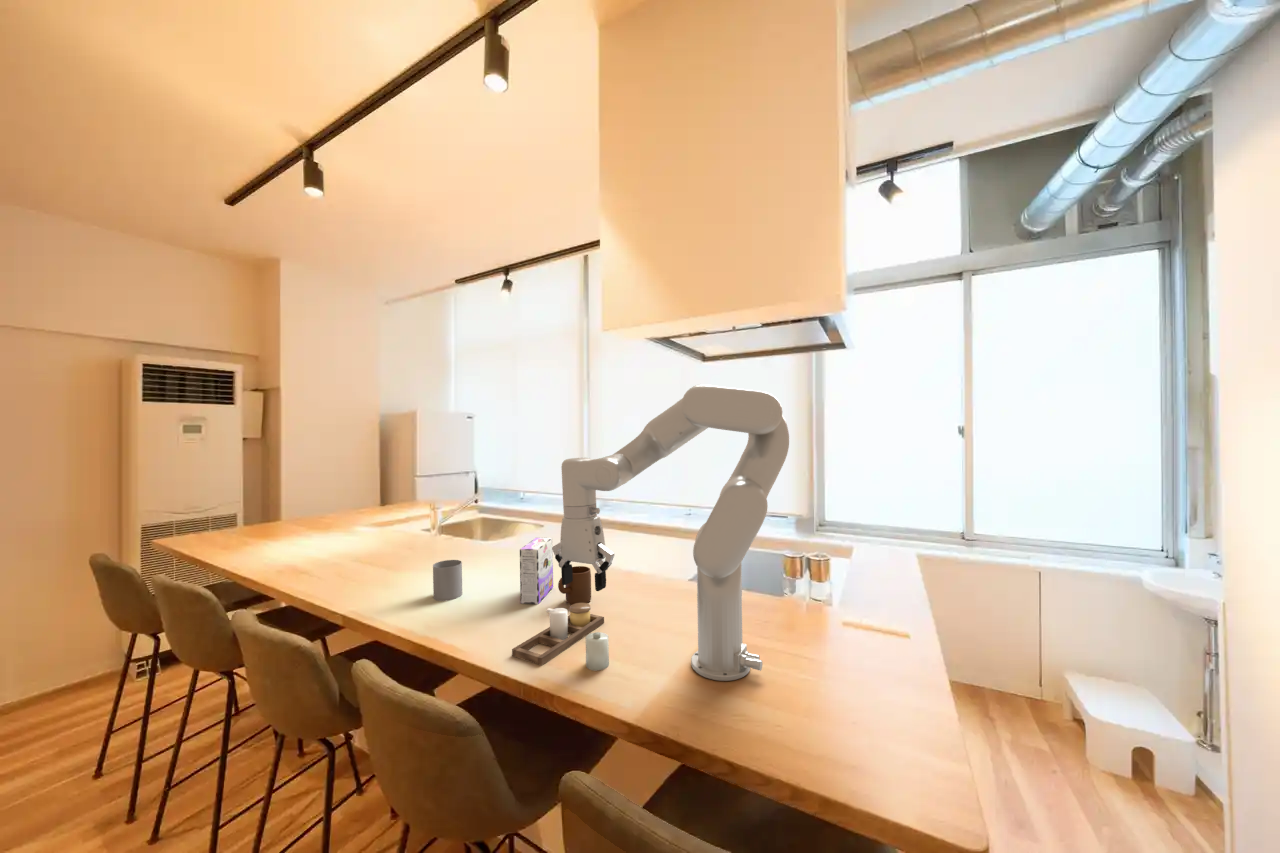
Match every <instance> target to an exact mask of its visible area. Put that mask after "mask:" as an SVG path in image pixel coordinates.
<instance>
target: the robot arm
mask: <svg viewBox="0 0 1280 853" xmlns="http://www.w3.org/2000/svg"><path fill="white" fill-rule="evenodd" d="M709 428H710V429H715V430H723V431H730V432H736V433H737V432H738V433H745V434H748V436H747V437H748V440H747V444H746V446H745V448H744V451H743V452H742V454H741V456H740V458H739V461H738V462H737V464H736V466H735V468H734V470H733V471H732V473H731V474H730V477H729V479H727V482H726V483H725V484H724V486H723V487H722V489H721V491H720V493H719V496H718V499H717V500H716V503H715V505H714V506H713V509H712V510H711V512H710V514H709V516H708V518H707V519H706V522H704V523H703V524H702V526H701V527H700V528H699V530H698V531H697V533H696V534H697V535H696V537H695V540H694V544H693V546H692V548H693V549H692V555H693V556H692V557H693V560H694V564H695V565H696V566H697V567H696V570H697V572H696V573H697V574H696V580H697V582H696V584H697V585H696V587H697V588H696V591H697V594H696V596H697V597H696V600H697V604H696V605H697V606H696V607H697V650H696V651H695V652H694V653H693V654H692V656H691V657H690V663H691V664H690V665H691V667H692V669H693V670H694V672H696V674H698V675H700V676H701V677H704V678H706V679H709V680H714V681H721V682H724V681H725V682H729V681H735V680H739V679H742V678H744V677H745V676H747V675H748V674H749V672H750V670H751V669H752V670H757V671H760V672H761V671H762V669H763V660H761V659H760V655H759V654H756V653H751V652H749V651H748V646H747V644H746V643H743V598H742V597H743V576H742V570H743V569H742V566H743V565H742V562H743V560H744V558H745V556H746V555H747V553H748V551H749V550H750V548H751V546H752V544H753V542H754V540H755V538H756V537H757V535H758V533H759V532H760V529H761V527H762V525H763V524H764V522H765V519H766V517H767V513H768V508H769V507H768V499H767V498H768V496H769V494H770V492H771V490H772V488H773V486H774V484H775V483H776V480H777V478H778V477H779V474H780V472H781V470H782V468H783V466H784V464H785V461H786V459H787V456H788V453H789V448H790V434H789V428H788V424H787V422H786V418H785V417H784V415H783V406H782V405H781V402H780V401H779V399H778V397H776V396H774V395H773V394H772V393H770V392H767V391H762V390H753V389H744V388H736V387H728V386H727V387H726V386H719V385H712V384H701V383H700V384H696V385H693V386H691V387H690V388H689V389H688V390H687V391H686V392H685V393H684V395H683V397H682V398H680V399H679V400H678V401H676V402H675V403H674V404H673V405H671V406H670V407H668V408H667V409H666V410H664V411H663V412H661V413H660V414H658V415H657V416H656V417H654V418H653V419H651V420H650V421H649V422H648V423H646V424H645V426H644V428H643V429H642V431H641V432H640V433H639V434H638V435H637V436H636V437H635V438H634V439H632V440H631V441H630V442H628V443H627V444H625V445H624V446H622V447H621V448H620V449H619V450H617V451H615V452H614V453H613V454H611V455H607V456H605V457H604V456H603V457H600V458H594V459H592V458H590V457H589V458H588V457H572V458H567V459H565V460H563V462H562V463H561V484H562V485H561V488H562V506H563V508H562V509H563V517H562V520H561V525H560V526H561V527H560V542H558V543H557V544H555V545H554V546H553V545H552V553H553V554H554V556H555V557H554V558H555V559H554V560H556V562H557V563H558V567H559V568H560V569H561V570H560V571H561V578H562V585H564V586H565V585H566V584H568V583H570V582H572V581H573V572H572V567H573V564H571V563H574V562H575V563H579V564H588V565H592V567H593V568H594V570H595V573H594V586H595V587H594V588H595V591H596V592H600V591H602V590H603V589H605V588H606V587H607V571H608V569H609V568H610V566H612V564H613V563H612V562H613V560H614V557H615V553H614V552H613V551H612V550H610V549H609V548H608V547H606V541H605V534H604V528H603V524H602V520H601V517H599V516H597V515H599V514H600V513H601V510H600V508H599V507H597V494H596V491H600V492H612V491H614V490H617V489H618V488H620V487H621V486H624V485H625V484H627V483H628V482H629V481H631V480H632V479H634V478H635V477H637V476H638V475H639V474H641V473H642V472H644V471H645V470H647V469H648V468H650V467H651V466H653V465H654V464H655V463H657V462H658V461H660V460H661V459H664V458H667V457H668V456H669V455H671V454H673V453H674V452H675V451H677V450H678V449H680V448H681V447H683V446H684V445H685V444H687V443H688V442H690V441H691V440H693V439H694V438H695V437H697V436H699V435H700V434H701V433H703V432H704V431H706V430H708V429H709Z"/></svg>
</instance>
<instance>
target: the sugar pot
mask: <svg viewBox="0 0 1280 853" xmlns="http://www.w3.org/2000/svg"><path fill="white" fill-rule="evenodd" d="M609 646H610V645H609V635H608V634H607V633H605V632H601V631H600V632H599V631H595V632H592V633H591V632H590V633H589V634H587V635H586V636H585V666H586V668H587V669H588V670H590V671H596V672H597V671H601V670H602V671H603V670H605V669H607V668H608V667H609V665H610V658H609V656H610V654H609V652H610V651H609V649H610V648H609Z"/></svg>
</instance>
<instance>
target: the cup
mask: <svg viewBox="0 0 1280 853" xmlns="http://www.w3.org/2000/svg"><path fill="white" fill-rule="evenodd" d="M462 565H463V562H462V560H458V559H446V560H441V561H438V562H435V563H433V565H432V580H433V581H432V583H433V584H432V585H433V586H432V587H433V588H432V589H433V600H435V601H438V602H444V601H452V600H455V599H458V598H460V597H462V596H463V566H462Z"/></svg>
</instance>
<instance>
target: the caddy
mask: <svg viewBox="0 0 1280 853" xmlns="http://www.w3.org/2000/svg"><path fill="white" fill-rule="evenodd" d="M604 624H605V616H601V615H597V614H593V613H590V623H589V624H587V625H586V626H584V627H579V626H575V625H571V624H570V614H569V615H568V634H570V635H568V637H567V638H566V639H564V640H561V639H557V638H554V637H550V626H549V627H547V628H545V629H543V630H542V631H540V632H539V633H537V634H535V635H533V636H531V637H530V638H528V639H527V640H525V641H524V642H521V643H520V644H519V645H517V646H515V647H513V648H512V649H511V656H512V657H514V658H517V659H519V660H520V659H521V660H523V661H526V662H529V663H533V664H536V665H540V666H543V665H545V664H546V663H549V661H551V660H552V659H554V658H555V657H557V656H558V655H559V654H561V653H562V652H564V651H565V650H567V649H569V648H570V647H572V645H574V644H576V643H577V642H579V641H580V640H581V639H583V638H584V637H586V636H587V635H589V634H591V632H592V633H593V631H595V630H596V629H597V628H599V627H601V626H602V625H604ZM538 644H542V645H545V646H547V647H548V646H549V647H550V648H549V649H548V650H545V651H544V652H543V653H542V654H541V653H537V652H534V651H531V650H530V649H532V648H534V647H535V646H536V645H538Z"/></svg>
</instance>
